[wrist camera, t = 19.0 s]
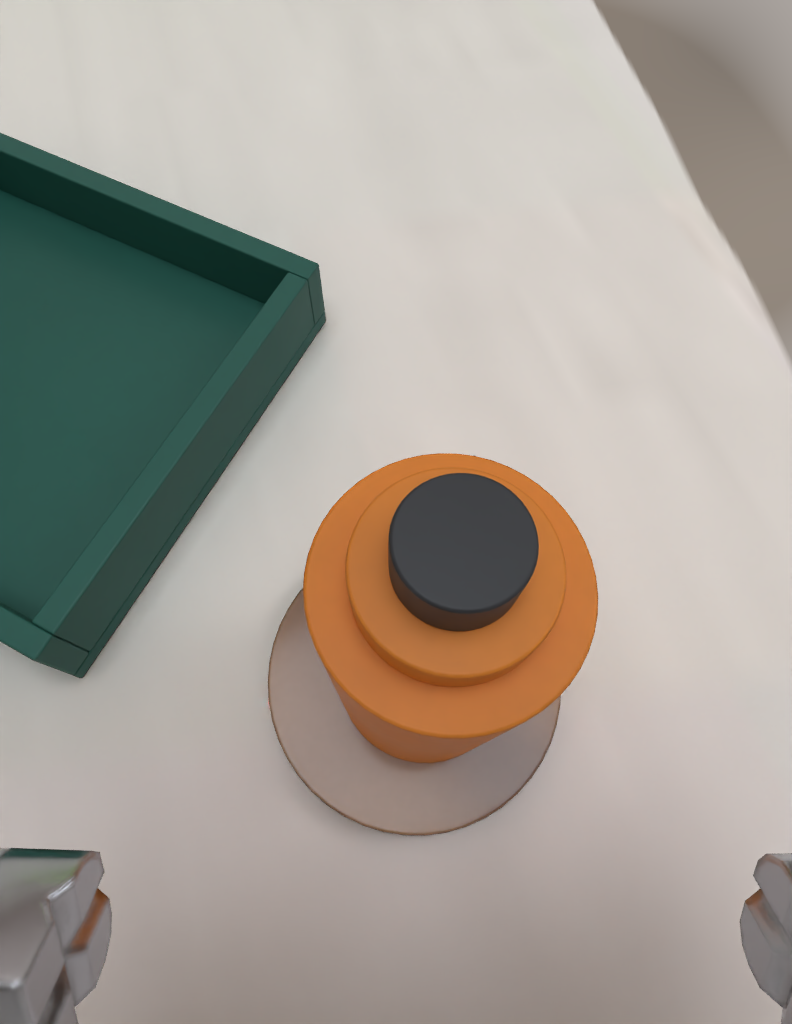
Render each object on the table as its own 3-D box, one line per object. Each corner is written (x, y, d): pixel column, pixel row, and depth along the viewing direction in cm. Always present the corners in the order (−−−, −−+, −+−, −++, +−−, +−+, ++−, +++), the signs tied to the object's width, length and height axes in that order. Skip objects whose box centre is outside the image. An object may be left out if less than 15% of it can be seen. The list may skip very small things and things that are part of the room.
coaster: (486, 896, 19) (489, 899, 18) (214, 742, 20) (210, 740, 20) (598, 615, 22) (603, 610, 21) (356, 500, 23) (355, 493, 23)
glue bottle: (465, 796, 19) (566, 801, 8) (308, 711, 20) (215, 615, 9) (534, 636, 21) (689, 469, 10) (387, 564, 22) (386, 340, 11)
